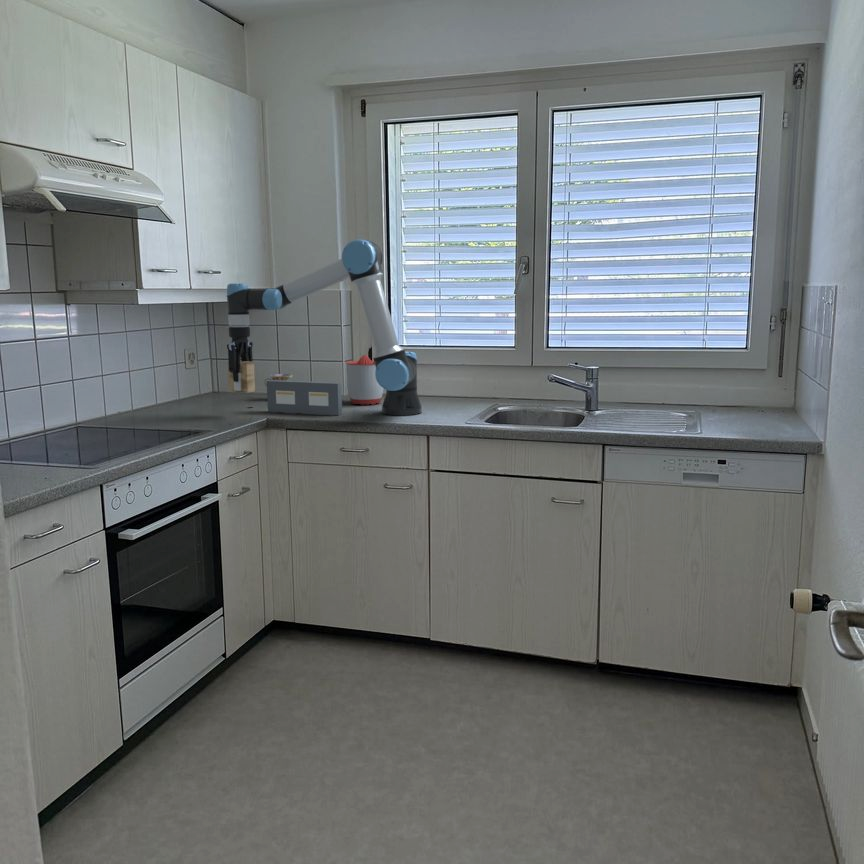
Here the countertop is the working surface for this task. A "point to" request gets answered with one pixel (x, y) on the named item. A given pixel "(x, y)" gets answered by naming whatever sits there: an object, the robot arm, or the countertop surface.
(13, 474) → the countertop surface
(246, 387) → the oak block
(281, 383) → the panel
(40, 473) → the countertop surface
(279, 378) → the mug
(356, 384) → the citrus juicer
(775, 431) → the countertop surface
